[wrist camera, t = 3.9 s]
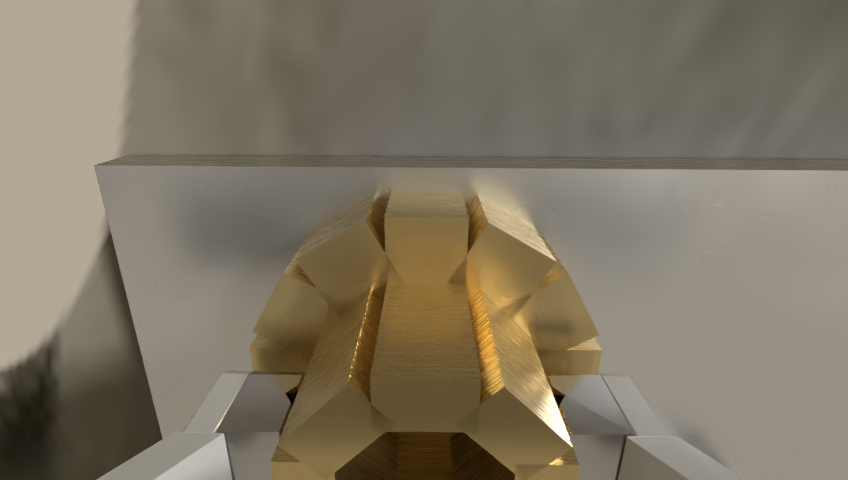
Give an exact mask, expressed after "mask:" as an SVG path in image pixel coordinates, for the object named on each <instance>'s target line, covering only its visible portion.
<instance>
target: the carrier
mask: <svg viewBox="0 0 848 480" xmlns="http://www.w3.org/2000/svg"><path fill="white" fill-rule="evenodd" d="M94 167H95V171H96V174H97V179H98V183H99V186H100V191H101V194H102V199H103V203H104V207H105V211H106V215H107V219H108V223H109V227H110V231H111V235H112V239H113V243H114V247H115V251H116V255H117V259H118V263H119V267H120V271H121V275H122V279H123V283H124V287H125V291H126V295H127V299H128V303H129V307H130V311H131V315H132V319H133V323H134V327H135V331H136V335H137V339H138V343H139V347H140V351H141V355H142V359H143V363H144V367H145V371H146V375H147V379H148V383H149V387H150V391H151V395H152V398H153V402H154V406H155V410H156V414H157V418H158V422H159V426H160V430H161V434H162V438H163V439H164V438H166V437H167V436H169V435H171V434H172V433H179V432H183V431H184V429H185V428H186V426H187V425H188V423H189V422H190V420H191V419H192V417H193V416H194V414H195V413H196V411H197V410H198V408H199V407H200V405H201V404H202V402H203V401H204V399H205V398H206V396H207V395H208V393H209V392H210V390H211V389H212V387H213V386H214V384H215V383H216V381H217V380H218V378H219V377H220V375H221V374H222V373H224V372H226V371H253V368H252V361H251V355H250V348H249V347H250V346H251V344H252V342H253V341H254V339H255V338H256V336H257V334H255V333H252V331H253V329H254V327H255V325H256V324H257V322H258V320H259V318H260V316H261V314H262V312H263V310H264V308H265V306H266V304H267V303H268V301H269V299H270V297H271V295H272V293H273V291H274V289H275V287H276V285H277V283H278V282H279V280H280V278H281V276H282V274H283V272H284V271H285V269H286V268H287V266H288V265H289V263H290V262H291V260H292V259H293V257H294V256H295V255H296V253H297V252H298V250H299V249H300V247H301V246H302V244H303V243H304V241H305V240H306V239H310V238H311V236H312V235H313V233H314V232H315V230H316V229H317V227H319V226H321V225H322V224H324V223H326V222H328V221H330V220H331V219H333V218H335V217H337V216H338V215H340V214H342V213H344V212H346V211H347V210H349V209H351V208H353V207H354V206H356V205H358V204H360V203H362V202H363V201H365V200H367V199H369V198H370V197H372V196H374V195H376V197H377V198H378V200H379V202H380V203H381V205H382V206H383V208H384V210H385V211H386V209H387V205H388V201H389V198H390V194H391V191H462V194H463V198H464V202H465V205H466V209H467V212H468V210H469V208H470V207H471V205H472V204H473V202H474V201H475V199H476V198H477V196H480V197H481V198H483V199H485V200H486V201H488V202H490V203H492V204H493V205H495V206H497V207H498V208H500V209H502V210H504V211H505V212H507V213H509V214H511V215H512V216H514V217H516V218H517V219H519V220H521V221H523V222H524V223H526V224H528V225H529V226H531V227H533V228H535V229H536V231H537V232H538V234H539V235H540V237H541V238H542V240H543V241H545V240H546V241H547V242H548V244H549V245H550V247H551V248H552V250H553V251H554V253H555V254H556V256H557V257H558V259H559V260H560V262H561V263H562V265H563V266H564V268H565V269H566V271H567V272H568V274H569V275H570V277H571V279H572V281H573V283H574V285H575V287H576V289H577V291H578V293H579V295H580V297H581V299H582V301H583V303H584V305H585V307H586V309H587V311H588V313H589V315H590V317H591V319H592V321H593V323H594V325H595V327H596V329H597V331H598V333H599V336H597V337H594V338H595V340H596V341H597V343H598V345H599V346H600V348H601V350H602V353H601V359H600V365H599V371H598V374H613V373H624V374H626V375H627V376H629V378H630V379H631V381H632V382H633V384H634V385H635V387H636V388H637V390H638V391H639V393H640V394H641V396H642V397H643V399H644V400H645V402H646V403H647V405H648V406H649V408H650V409H651V411H652V412H653V414H654V415H655V417H656V418H657V420H658V422H659V423H660V425H661V426H662V428H663V429H664V431H665V432H666V434H667V435H668V436H675V437H679V438H680V439H682V440H683V441H685V442H686V443H688V444H690V445H691V446H693V447H694V448H696V449H698V450H699V451H701V452H702V453H704V454H706V455H707V456H709V457H710V458H712V459H714V460H715V461H717V462H718V463H720V464H722V465H723V466H725V467H726V468H728V469H730V470H731V471H733V472H734V473H736V474H738V475H739V476H741V477H742V478H744V479H746V480H848V160H812V159H664V158H517V157H370V156H222V155H126V156H123V157H120V158H117V159H113V160H110V161H107V162H104V163H101V164H97V165H95V166H94Z"/></svg>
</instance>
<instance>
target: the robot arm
mask: <svg viewBox="0 0 848 480" xmlns="http://www.w3.org/2000/svg"><path fill="white" fill-rule="evenodd" d="M304 375H305V372H277V371H226V372H224V373H222V374H221V375H220V377H219V378H218V380H217V381H216V383H215V384H214V386H213V387H212V389H211V390H210V392H209V393H208V395H207V396H206V398H205V399H204V401H203V402H202V404H201V405H200V407H199V408H198V410H197V411H196V413H195V414H194V416H193V417H192V419H191V420H190V422H189V423H188V425H187V426H186V428H185V429H184V431H183V432H179V433H172V434H171V435H169V436H167V437H166V438H164V439H162V440H161V441H159V442H157V443H156V444H154V445H152V446H151V447H149V448H148V449H146V450H144V451H143V452H141V453H139V454H138V455H136V456H134V457H133V458H131V459H129V460H128V461H126V462H124V463H123V464H121V465H120V466H118V467H116V468H115V469H113V470H111V471H110V472H108V473H106V474H105V475H103V476H101V477H100V478H98V479H96V480H273V476H272V469H271V459H272V457H273V454H274V452H275V449H276V447H277V444H278V442H279V439H280V437H281V434H282V432H283V429H284V427H285V424H286V421H287V419H288V416H289V414H290V411H291V409H292V406H293V403H294V401H295V398H296V396H297V393H298V391H299V388H300V386H301V383H302V381H303V378H304ZM546 378H547V380H548V383H549V386H550V388H551V391H552V394H553V396H554V399H555V401H556V404H557V407H558V409H559V412H560V415H561V417H562V420H563V423H564V425H565V428H566V430H567V433H568V436H569V438H570V441H571V444H572V446H573V449H574V451H575V454H576V457H577V459H578V462H579V471H578V477H577V480H746V479H744V478H742V477H741V476H739V475H738V474H736V473H734V472H733V471H731V470H730V469H728V468H726V467H725V466H723V465H722V464H720V463H718V462H717V461H715V460H714V459H712V458H710V457H709V456H707V455H706V454H704V453H702V452H701V451H699V450H698V449H696V448H694V447H693V446H691V445H690V444H688V443H686V442H685V441H683V440H682V439H680V438H679V437H675V436H668V435H667V434H666V432H665V431H664V429H663V428H662V426H661V425H660V423H659V422H658V420H657V418H656V417H655V415H654V414H653V412H652V411H651V409H650V408H649V406H648V405H647V403H646V402H645V400H644V399H643V397H642V396H641V394H640V393H639V391H638V390H637V388H636V387H635V385H634V384H633V382H632V381H631V379H630V378H629V376H627V375H626V374H624V373H613V374H597V375H546Z"/></svg>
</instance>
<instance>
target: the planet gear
mask: <svg viewBox="0 0 848 480" xmlns="http://www.w3.org/2000/svg"><path fill="white" fill-rule="evenodd" d="M252 333H255V334H257V336H256V338H255V339H254V341H253V342H252V344H251V346H250V347H249V348H250V355H251V361H252V368H253V371H277V372H305V375H304V378H303V381H302V383H301V386H300V388H299V391H298V393H297V396H296V398H295V401H294V403H293V406H292V409H291V411H290V414H289V416H288V419H287V421H286V424H285V427H284V429H283V432H282V434H281V437H280V439H279V442H278V444H277V447H276V449H275V452H274V454H273V457H272V459H271V469H272V476H273V480H577V477H578V471H579V462H578V459H577V457H576V454H575V451H574V449H573V446H572V444H571V441H570V438H569V436H568V433H567V430H566V428H565V425H564V423H563V420H562V417H561V415H560V412H559V409H558V407H557V404H556V401H555V399H554V396H553V394H552V391H551V388H550V386H549V383H548V380H547V378H546V375H597V374H598V371H599V365H600V359H601V353H602V350H601V348H600V346H599V345H598V343H597V341H596V340H595V338H594V337H597V336H599V333H598V331H597V329H596V327H595V325H594V323H593V321H592V319H591V317H590V315H589V313H588V311H587V309H586V307H585V305H584V303H583V301H582V299H581V297H580V295H579V293H578V291H577V289H576V287H575V285H574V283H573V281H572V279H571V277H570V275H569V274H568V272H567V271H566V269H565V268H564V266H563V265H562V263H561V262H560V260H559V259H558V257H557V256H556V254H555V253H554V251H553V250H552V248H551V247H550V245H549V244H548V242H547V241H546V240H545V241H543V240H542V238H541V237H540V235H539V234H538V232H537V231H536V229H535V228H533V227H531V226H529V225H528V224H526V223H524V222H523V221H521V220H519V219H517V218H516V217H514V216H512V215H511V214H509V213H507V212H505V211H504V210H502V209H500V208H498V207H497V206H495V205H493V204H492V203H490V202H488V201H486V200H485V199H483V198H481V197H480V196H477V198H476V199H475V201H474V202H473V204H472V205H471V207H470V208H469V210H468V212H467V209H466V205H465V202H464V198H463V194H462V191H391V194H390V198H389V201H388V205H387V209H386V211H385V210H384V208H383V206H382V205H381V203H380V202H379V200H378V198H377V197H376V195H374V196H372V197H370V198H369V199H367V200H365V201H363V202H362V203H360V204H358V205H356V206H354V207H353V208H351V209H349V210H347V211H346V212H344V213H342V214H340V215H338V216H337V217H335V218H333V219H331V220H330V221H328V222H326V223H324V224H322V225H321V226H319V227H317V229H316V230H315V232H314V233H313V235H312V236H311V238H310V239H306V240H305V241H304V243H303V244H302V246H301V247H300V249H299V250H298V252H297V253H296V255H295V256H294V257H293V259H292V260H291V262H290V263H289V265H288V266H287V268H286V269H285V271H284V272H283V274H282V276H281V278H280V280H279V282H278V283H277V285H276V287H275V289H274V291H273V293H272V295H271V297H270V299H269V301H268V303H267V304H266V306H265V308H264V310H263V312H262V314H261V316H260V318H259V320H258V322H257V324H256V325H255V327H254V329H253V331H252Z"/></svg>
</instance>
